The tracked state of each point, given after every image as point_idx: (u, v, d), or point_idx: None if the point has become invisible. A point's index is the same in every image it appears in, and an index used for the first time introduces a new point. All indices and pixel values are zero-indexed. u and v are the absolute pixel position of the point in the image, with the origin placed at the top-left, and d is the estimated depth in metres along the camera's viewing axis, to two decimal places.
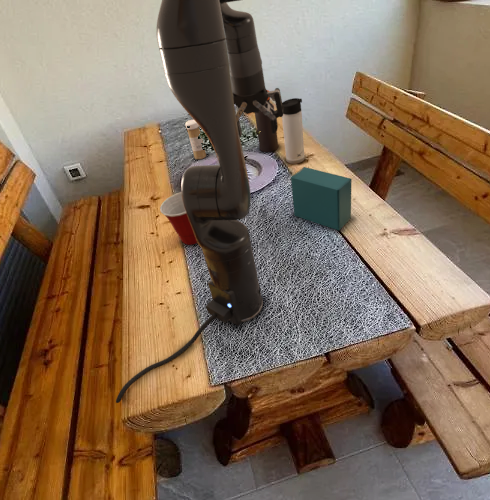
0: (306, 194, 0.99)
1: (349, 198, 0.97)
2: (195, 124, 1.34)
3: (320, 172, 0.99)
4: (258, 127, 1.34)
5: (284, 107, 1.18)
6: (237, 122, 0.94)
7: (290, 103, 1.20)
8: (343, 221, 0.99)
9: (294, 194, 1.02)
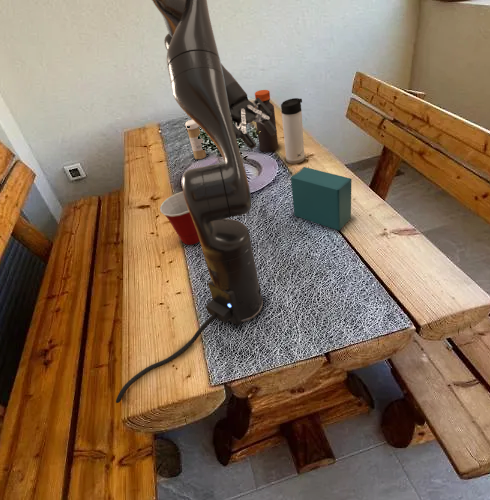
0: (306, 194, 0.99)
1: (349, 198, 0.97)
2: (195, 124, 1.34)
3: (320, 172, 0.99)
4: (258, 127, 1.34)
5: (284, 107, 1.18)
6: (245, 133, 0.99)
7: (290, 103, 1.20)
8: (343, 221, 0.99)
9: (294, 194, 1.02)
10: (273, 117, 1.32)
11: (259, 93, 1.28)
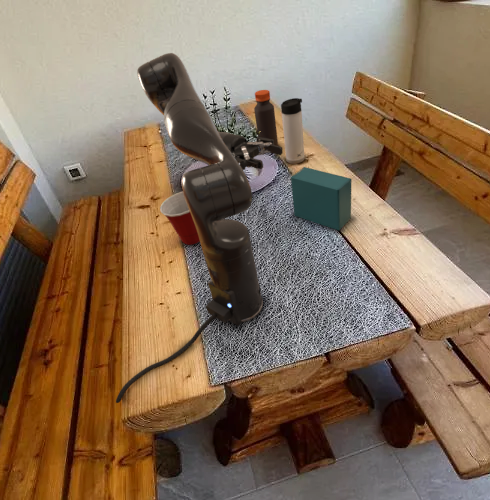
0: (306, 194, 0.99)
1: (349, 198, 0.97)
2: None
3: (320, 172, 0.99)
4: (258, 127, 1.34)
5: (284, 107, 1.18)
6: None
7: (290, 103, 1.20)
8: (343, 221, 0.99)
9: (294, 194, 1.02)
10: (273, 117, 1.32)
11: (259, 93, 1.28)
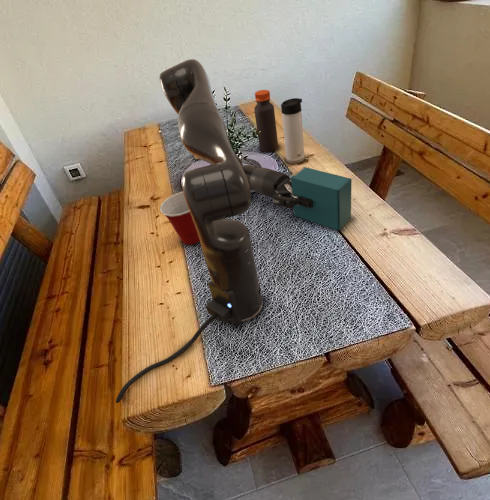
0: (305, 194, 0.99)
1: (349, 198, 0.97)
2: None
3: (320, 172, 0.99)
4: (258, 127, 1.34)
5: (284, 107, 1.18)
6: None
7: (290, 103, 1.20)
8: (343, 221, 0.99)
9: None
10: (273, 117, 1.32)
11: (259, 93, 1.28)
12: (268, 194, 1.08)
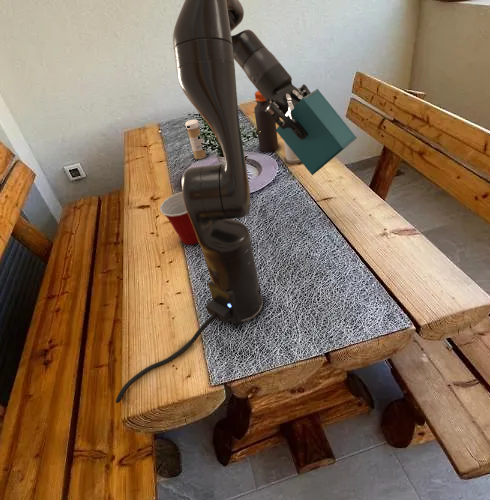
0: (305, 124, 0.87)
1: None
2: (195, 124, 1.34)
3: (331, 109, 0.86)
4: (258, 127, 1.34)
5: None
6: None
7: None
8: None
9: None
10: None
11: (259, 93, 1.28)
12: (261, 91, 0.88)
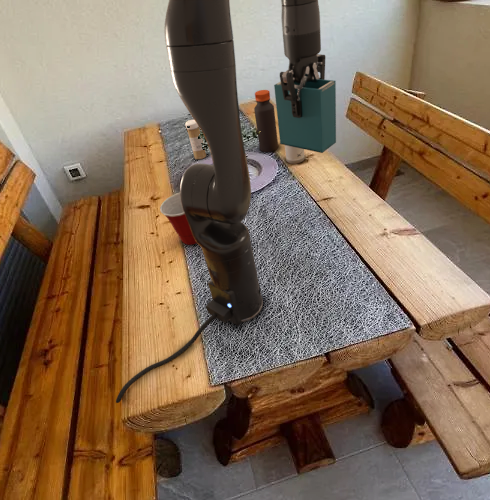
0: (305, 109, 0.84)
1: None
2: (195, 124, 1.34)
3: (334, 107, 0.86)
4: (258, 127, 1.34)
5: None
6: None
7: None
8: None
9: None
10: (273, 117, 1.32)
11: (259, 93, 1.28)
12: (287, 46, 0.78)
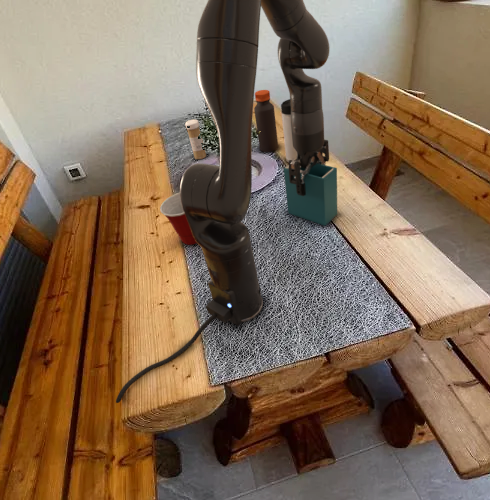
0: (310, 191, 0.97)
1: None
2: (195, 124, 1.34)
3: (335, 188, 0.99)
4: (258, 127, 1.34)
5: (284, 107, 1.18)
6: None
7: None
8: None
9: (306, 177, 0.95)
10: (273, 117, 1.32)
11: (259, 93, 1.28)
12: (295, 141, 0.91)
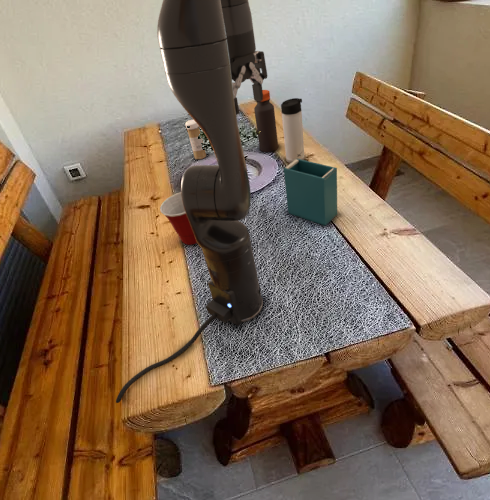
0: (310, 191, 0.97)
1: None
2: (195, 124, 1.34)
3: (335, 188, 0.99)
4: (258, 127, 1.34)
5: (284, 107, 1.18)
6: (234, 96, 0.86)
7: (290, 103, 1.20)
8: None
9: (306, 177, 0.95)
10: (273, 117, 1.32)
11: None
12: None
